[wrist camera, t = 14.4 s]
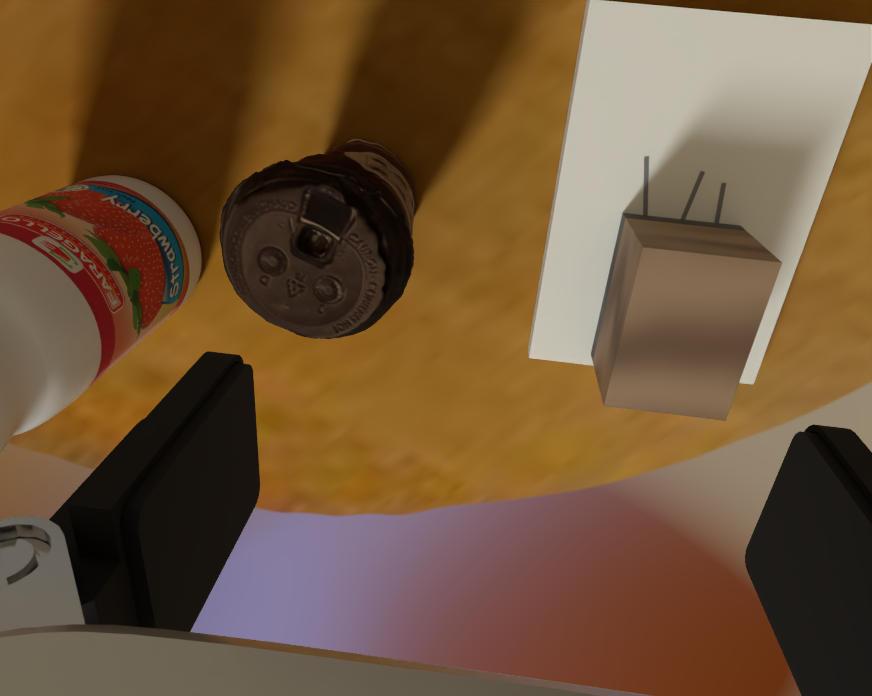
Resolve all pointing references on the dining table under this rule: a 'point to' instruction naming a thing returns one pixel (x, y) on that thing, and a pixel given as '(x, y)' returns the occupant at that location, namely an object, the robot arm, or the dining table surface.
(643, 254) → the block
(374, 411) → the dining table surface
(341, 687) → the robot arm
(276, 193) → the coffee cup
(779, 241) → the board
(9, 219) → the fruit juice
